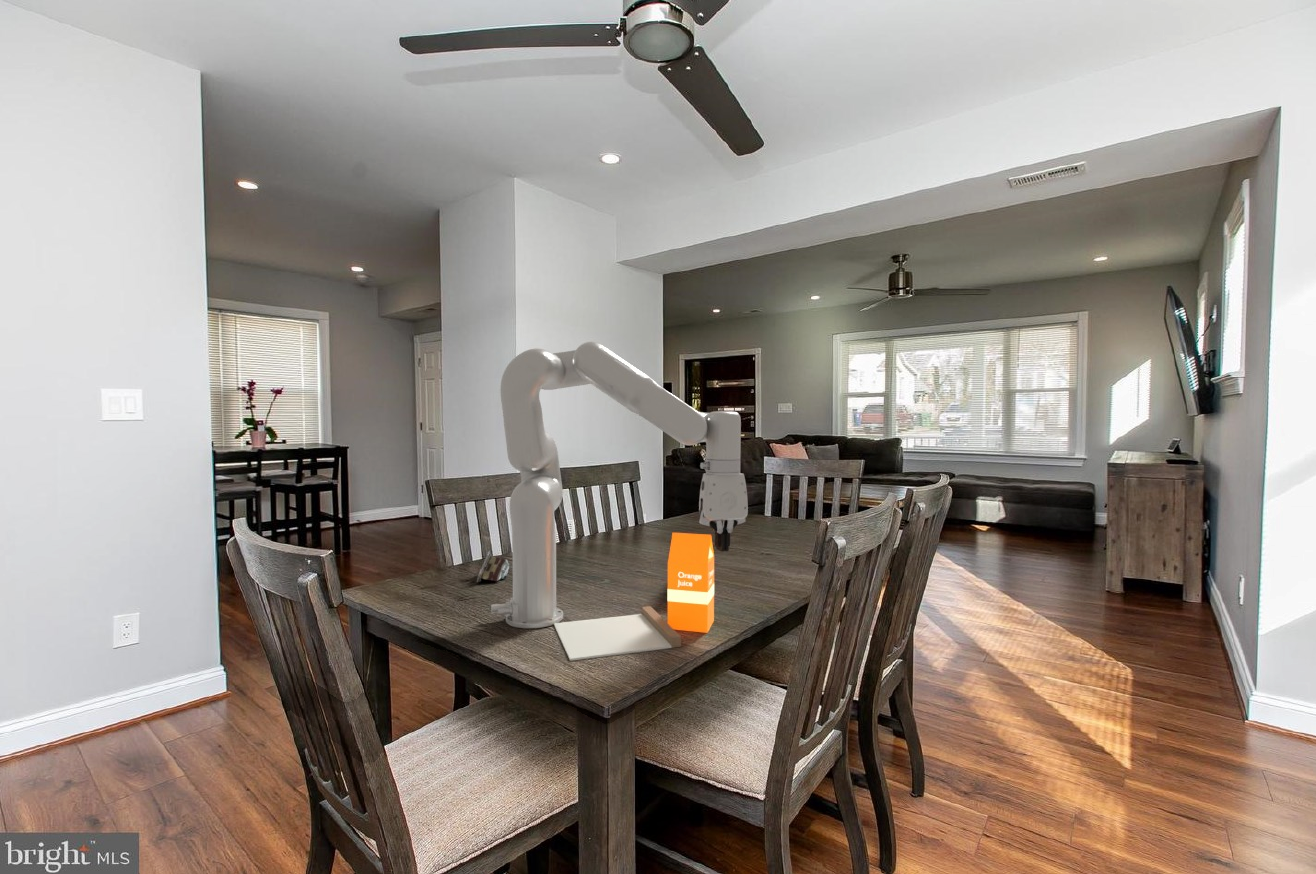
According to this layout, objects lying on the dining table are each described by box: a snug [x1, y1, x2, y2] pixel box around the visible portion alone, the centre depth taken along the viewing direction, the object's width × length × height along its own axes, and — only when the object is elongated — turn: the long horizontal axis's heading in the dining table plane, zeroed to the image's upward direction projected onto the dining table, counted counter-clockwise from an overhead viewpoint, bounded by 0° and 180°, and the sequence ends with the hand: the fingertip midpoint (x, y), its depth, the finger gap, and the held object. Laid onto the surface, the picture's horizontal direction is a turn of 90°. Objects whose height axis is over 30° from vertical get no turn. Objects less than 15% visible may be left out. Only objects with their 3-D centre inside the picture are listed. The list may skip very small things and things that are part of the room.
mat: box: [553, 605, 682, 662], centre depth 124 cm, size 22×20×2 cm
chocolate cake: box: [476, 549, 510, 583], centre depth 166 cm, size 10×7×12 cm
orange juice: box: [667, 532, 715, 634], centre depth 130 cm, size 8×9×20 cm
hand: (722, 550), depth 132 cm, fingers closed
